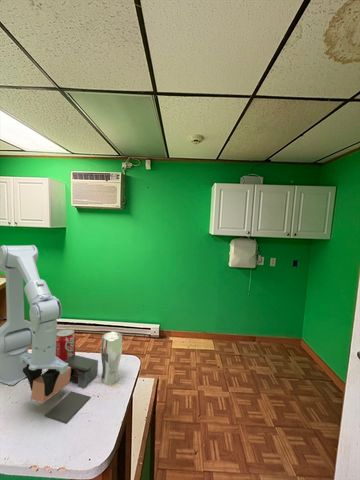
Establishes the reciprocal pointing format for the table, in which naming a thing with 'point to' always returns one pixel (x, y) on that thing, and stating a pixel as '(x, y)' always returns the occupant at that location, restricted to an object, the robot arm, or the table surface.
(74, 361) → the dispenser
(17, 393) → the table surface
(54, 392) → the salmon orange block
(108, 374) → the beer glass
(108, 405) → the table surface
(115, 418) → the table surface
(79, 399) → the mat
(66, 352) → the soda can
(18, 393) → the table surface
